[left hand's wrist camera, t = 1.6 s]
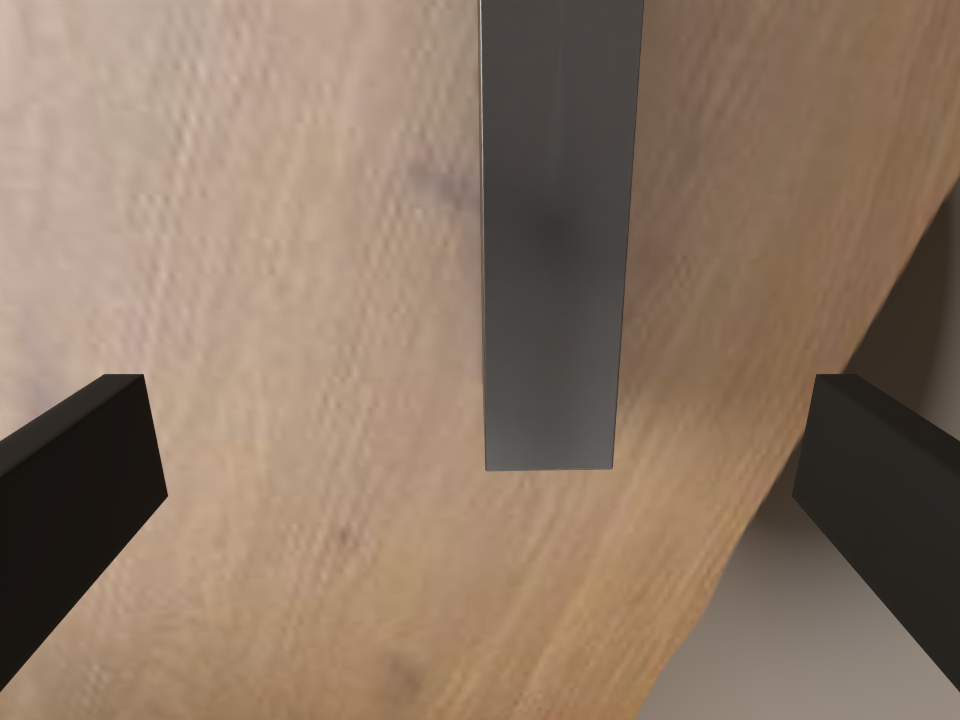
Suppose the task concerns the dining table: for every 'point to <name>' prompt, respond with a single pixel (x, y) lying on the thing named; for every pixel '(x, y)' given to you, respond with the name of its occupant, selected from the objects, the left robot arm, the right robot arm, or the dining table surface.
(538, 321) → the bar
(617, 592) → the dining table surface
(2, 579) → the left robot arm
